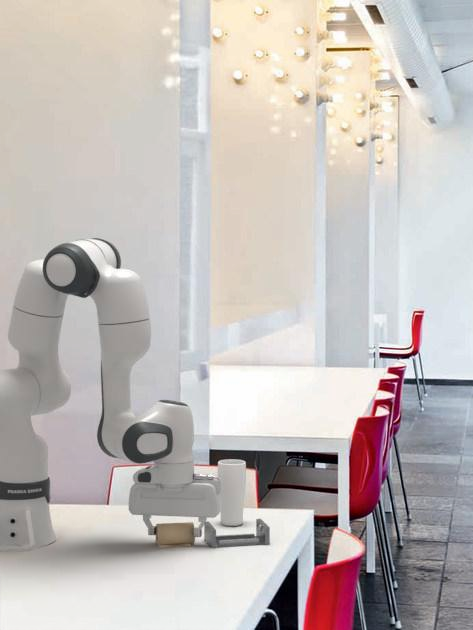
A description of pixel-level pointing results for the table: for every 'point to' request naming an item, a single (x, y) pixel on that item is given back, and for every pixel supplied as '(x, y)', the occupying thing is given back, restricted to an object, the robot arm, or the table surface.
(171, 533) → the roll
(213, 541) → the holder
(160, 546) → the chock
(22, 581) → the table surface
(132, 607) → the table surface
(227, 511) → the drinking glass
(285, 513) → the table surface
